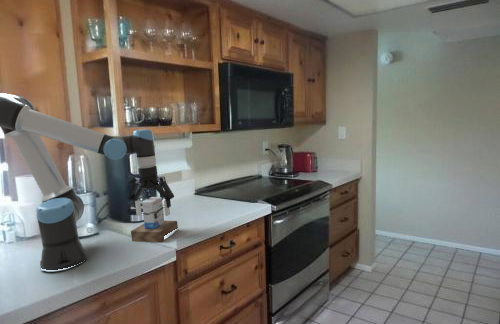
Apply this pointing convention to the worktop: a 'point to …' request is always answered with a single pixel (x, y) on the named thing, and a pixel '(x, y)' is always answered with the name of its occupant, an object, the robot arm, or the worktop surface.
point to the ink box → (153, 212)
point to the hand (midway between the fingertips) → (153, 215)
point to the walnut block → (153, 232)
